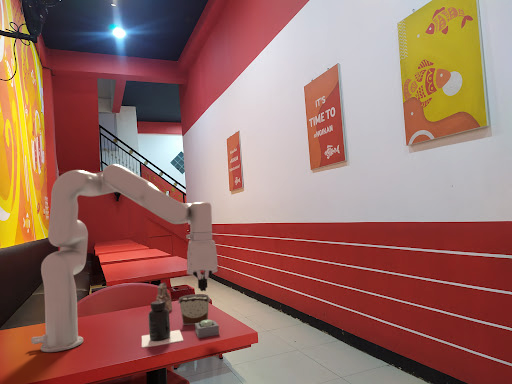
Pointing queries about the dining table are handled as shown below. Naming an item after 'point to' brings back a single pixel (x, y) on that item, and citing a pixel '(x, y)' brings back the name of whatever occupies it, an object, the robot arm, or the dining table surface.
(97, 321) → the dining table surface
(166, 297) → the figurine
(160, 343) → the paper sheet
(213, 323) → the button housing
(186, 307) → the food container
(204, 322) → the button
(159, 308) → the supplement bottle
